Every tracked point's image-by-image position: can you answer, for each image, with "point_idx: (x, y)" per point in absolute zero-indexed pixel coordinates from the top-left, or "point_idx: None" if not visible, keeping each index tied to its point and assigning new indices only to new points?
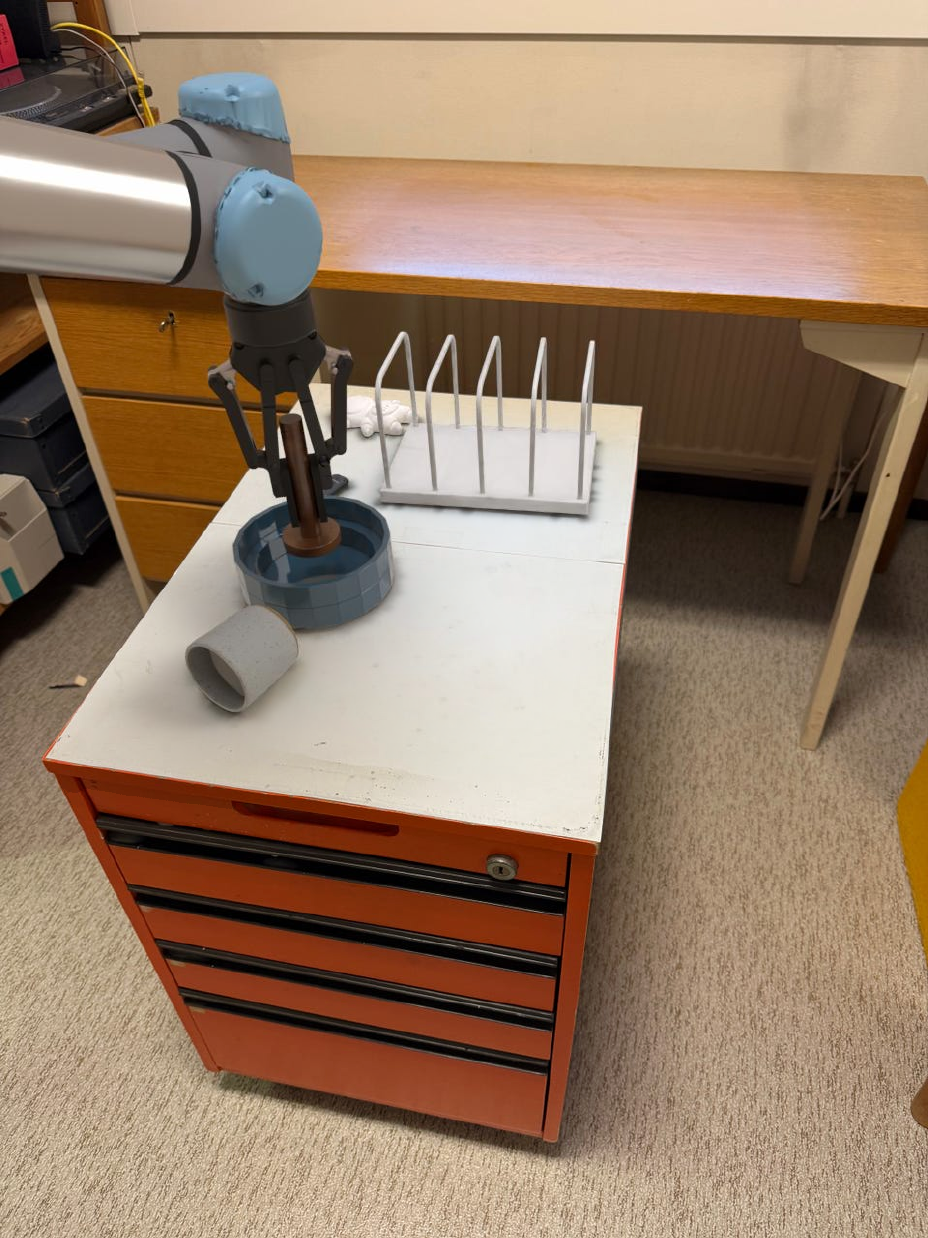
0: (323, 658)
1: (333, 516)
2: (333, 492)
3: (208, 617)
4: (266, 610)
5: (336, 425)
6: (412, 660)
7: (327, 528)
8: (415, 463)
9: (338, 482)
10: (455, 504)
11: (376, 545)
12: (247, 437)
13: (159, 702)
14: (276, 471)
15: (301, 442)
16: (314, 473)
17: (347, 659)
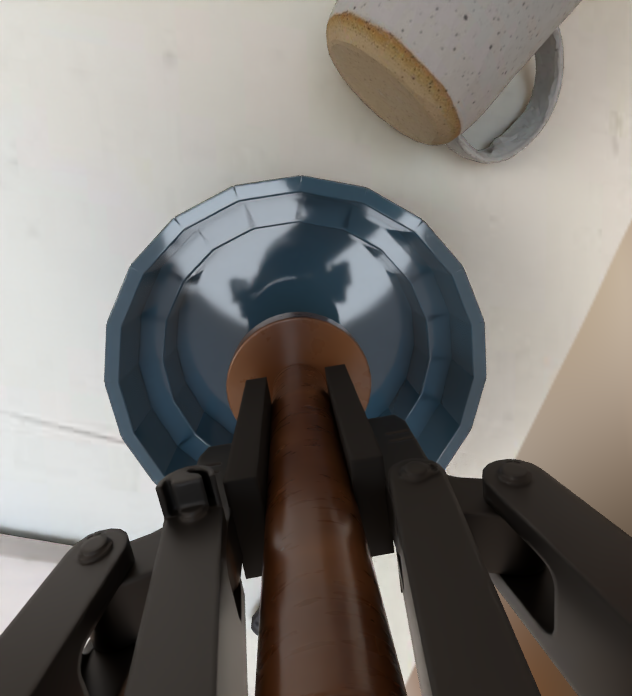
0: (281, 102)
1: None
2: None
3: (505, 267)
4: (408, 37)
5: (21, 685)
6: (90, 62)
7: None
8: None
9: None
10: (30, 541)
11: (164, 391)
12: (618, 589)
13: (600, 16)
14: (402, 460)
15: (278, 581)
16: (247, 462)
17: (231, 90)
